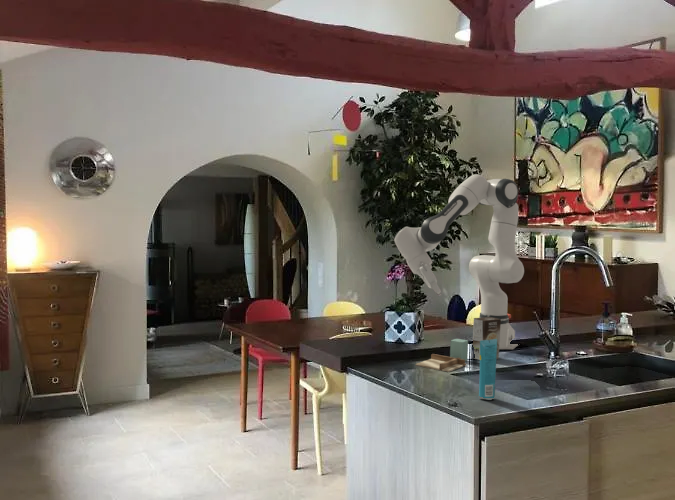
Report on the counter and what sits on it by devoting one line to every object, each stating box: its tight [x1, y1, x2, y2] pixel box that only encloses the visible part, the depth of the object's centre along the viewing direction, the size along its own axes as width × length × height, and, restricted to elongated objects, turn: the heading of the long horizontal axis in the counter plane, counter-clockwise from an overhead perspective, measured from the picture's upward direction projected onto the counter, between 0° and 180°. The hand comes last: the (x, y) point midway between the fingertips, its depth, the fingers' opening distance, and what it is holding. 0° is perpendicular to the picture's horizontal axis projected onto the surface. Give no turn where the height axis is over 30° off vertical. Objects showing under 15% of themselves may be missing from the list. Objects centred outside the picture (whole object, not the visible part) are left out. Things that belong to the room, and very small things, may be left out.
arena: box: [415, 353, 467, 373], centre depth 271 cm, size 14×14×2 cm
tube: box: [478, 339, 497, 398], centre depth 228 cm, size 7×5×19 cm, turn 129°
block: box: [449, 338, 469, 362], centre depth 280 cm, size 5×5×8 cm
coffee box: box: [471, 317, 501, 361], centre depth 285 cm, size 9×6×16 cm
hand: (439, 294), depth 281 cm, fingers open, 8 cm apart
